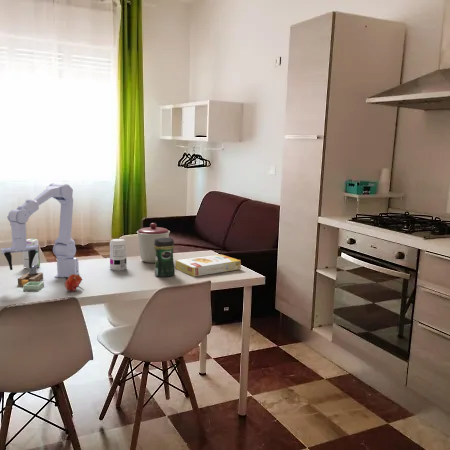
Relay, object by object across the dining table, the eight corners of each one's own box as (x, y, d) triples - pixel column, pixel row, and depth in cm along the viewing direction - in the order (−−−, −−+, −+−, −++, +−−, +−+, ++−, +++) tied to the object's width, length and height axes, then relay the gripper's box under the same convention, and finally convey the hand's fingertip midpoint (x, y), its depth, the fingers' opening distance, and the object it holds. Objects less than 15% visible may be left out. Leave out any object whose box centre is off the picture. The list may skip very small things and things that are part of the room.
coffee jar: (171, 272, 238) (171, 235, 235) (176, 276, 231) (176, 238, 228) (152, 274, 234) (152, 237, 231) (156, 278, 227) (156, 239, 224)
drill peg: (37, 279, 220) (37, 265, 219) (35, 281, 217) (34, 266, 216) (31, 279, 220) (30, 265, 219) (28, 281, 217) (27, 266, 216)
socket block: (43, 279, 222) (42, 272, 221) (33, 285, 211) (33, 279, 210) (28, 278, 222) (27, 272, 221) (18, 285, 211) (17, 278, 210)
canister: (172, 263, 256) (172, 225, 252) (138, 265, 251) (137, 226, 248) (167, 256, 273) (167, 220, 270) (135, 258, 268) (135, 221, 265)
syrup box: (33, 269, 239) (32, 241, 237) (23, 268, 240) (21, 240, 238) (40, 266, 245) (39, 239, 242) (29, 266, 246) (28, 238, 244)
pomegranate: (81, 292, 209) (62, 279, 207) (90, 280, 208) (71, 267, 206) (76, 299, 202) (57, 286, 200) (86, 286, 201) (66, 273, 199)
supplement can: (106, 269, 241) (106, 240, 239) (116, 266, 248) (115, 238, 246) (120, 271, 238) (119, 242, 236) (129, 267, 245) (129, 239, 243)
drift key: (33, 282, 215) (33, 277, 215) (28, 286, 210) (27, 280, 210) (27, 282, 215) (26, 276, 215) (21, 286, 210) (21, 280, 210)
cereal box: (241, 259, 244) (193, 266, 229) (241, 270, 245) (193, 277, 230) (220, 253, 261) (174, 258, 246) (220, 263, 262) (174, 269, 246)
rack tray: (44, 286, 210) (43, 281, 209) (38, 290, 203) (38, 285, 203) (29, 286, 210) (29, 281, 209) (23, 290, 203) (23, 285, 203)
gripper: (35, 234, 210) (36, 264, 212) (-1, 237, 203) (1, 268, 205) (38, 237, 204) (39, 267, 207) (1, 240, 197) (3, 272, 199)
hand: (20, 268), depth 205 cm, fingers open, 7 cm apart
